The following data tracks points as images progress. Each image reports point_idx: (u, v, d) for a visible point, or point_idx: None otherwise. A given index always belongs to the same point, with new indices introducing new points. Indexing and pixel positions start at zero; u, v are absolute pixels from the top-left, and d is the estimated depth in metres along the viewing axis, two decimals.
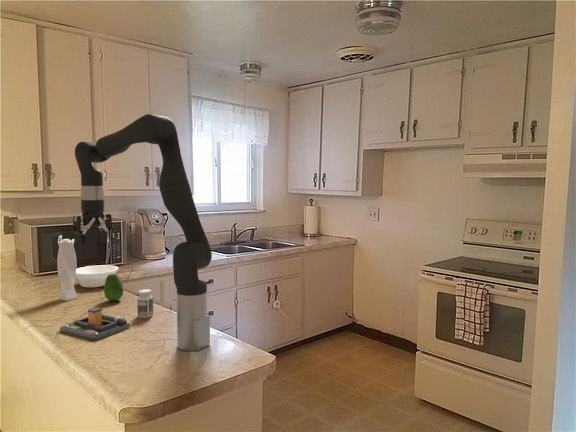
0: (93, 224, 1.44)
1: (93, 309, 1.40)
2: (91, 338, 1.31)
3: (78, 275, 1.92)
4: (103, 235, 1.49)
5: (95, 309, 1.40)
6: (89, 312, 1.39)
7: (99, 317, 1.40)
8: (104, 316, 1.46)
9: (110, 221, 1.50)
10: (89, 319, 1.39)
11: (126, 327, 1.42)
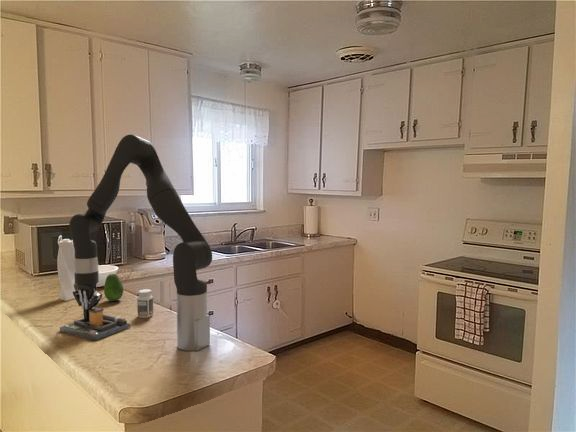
0: None
1: (94, 309, 1.40)
2: (91, 338, 1.31)
3: None
4: None
5: (96, 309, 1.40)
6: (90, 312, 1.39)
7: (100, 317, 1.40)
8: (104, 316, 1.46)
9: None
10: (90, 319, 1.39)
11: (126, 327, 1.42)
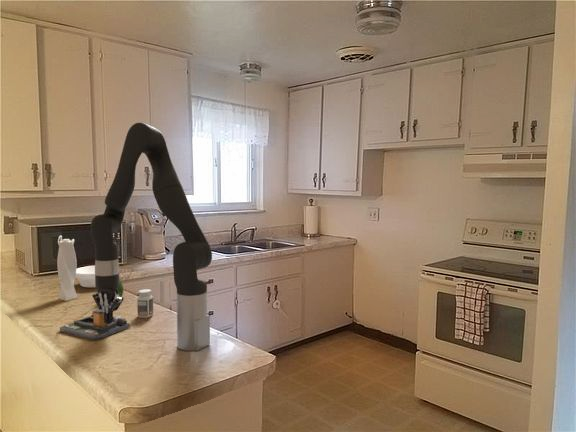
0: None
1: (98, 310, 1.39)
2: (91, 338, 1.31)
3: (78, 275, 1.92)
4: None
5: (100, 310, 1.39)
6: (94, 313, 1.38)
7: None
8: None
9: None
10: (94, 320, 1.38)
11: (126, 327, 1.42)
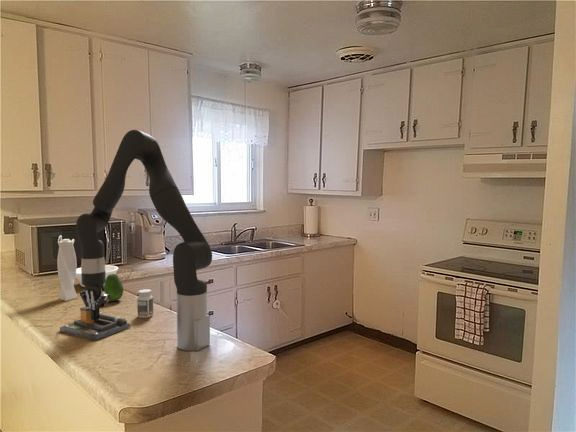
0: None
1: (85, 307, 1.42)
2: (91, 338, 1.31)
3: (78, 275, 1.92)
4: None
5: (87, 307, 1.42)
6: (81, 310, 1.41)
7: None
8: (104, 316, 1.46)
9: None
10: (81, 317, 1.41)
11: (126, 327, 1.42)
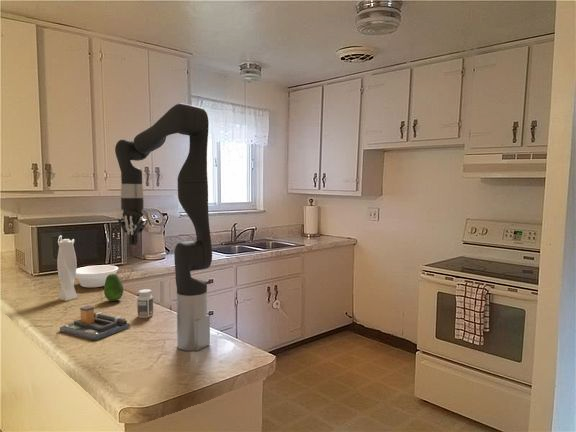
0: None
1: (85, 307, 1.42)
2: (91, 338, 1.31)
3: (78, 275, 1.92)
4: None
5: (87, 307, 1.42)
6: (81, 310, 1.41)
7: (91, 315, 1.42)
8: (104, 316, 1.46)
9: None
10: (81, 317, 1.41)
11: (126, 327, 1.42)
